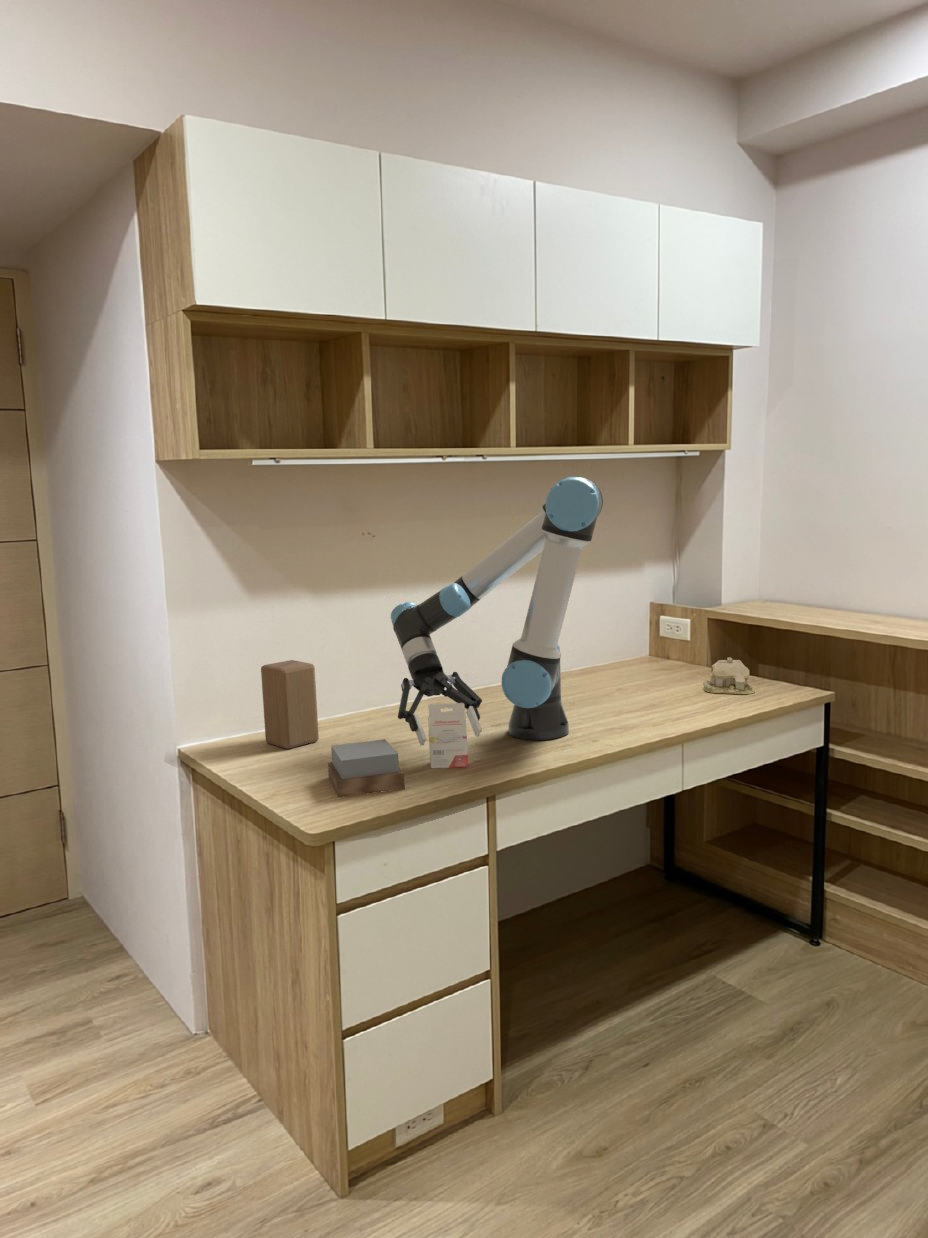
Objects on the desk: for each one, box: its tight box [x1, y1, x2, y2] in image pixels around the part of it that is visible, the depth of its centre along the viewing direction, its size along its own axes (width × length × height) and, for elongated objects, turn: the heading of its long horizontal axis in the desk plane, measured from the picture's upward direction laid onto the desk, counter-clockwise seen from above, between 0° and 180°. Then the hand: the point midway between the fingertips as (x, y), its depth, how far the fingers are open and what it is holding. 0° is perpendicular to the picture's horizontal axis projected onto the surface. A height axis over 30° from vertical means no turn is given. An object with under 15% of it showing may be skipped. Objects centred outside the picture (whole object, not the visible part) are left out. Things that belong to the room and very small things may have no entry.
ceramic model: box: [702, 657, 756, 695], centre depth 273 cm, size 14×11×10 cm
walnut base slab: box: [327, 761, 406, 798], centre depth 200 cm, size 14×14×4 cm
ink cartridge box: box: [427, 702, 469, 769], centre depth 210 cm, size 9×5×15 cm, turn 90°
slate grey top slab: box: [330, 739, 400, 779], centre depth 199 cm, size 12×12×4 cm
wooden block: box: [260, 659, 320, 750], centre depth 233 cm, size 10×10×20 cm
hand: (451, 737), depth 208 cm, fingers open, 13 cm apart
